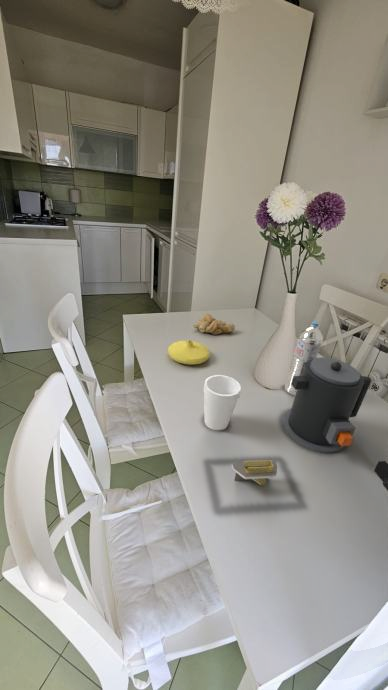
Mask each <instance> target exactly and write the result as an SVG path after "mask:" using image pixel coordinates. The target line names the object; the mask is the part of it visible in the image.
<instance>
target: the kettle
mask: <svg viewBox="0 0 388 690" xmlns="http://www.w3.org/2000/svg"><path fill="white" fill-rule="evenodd" d="M291 384H292V386H293V387H294V388H295V389H297V392H296V396H295V395H294V398H293V402H292V404H291V405H292V406H291V408H289V409H288V410H286V411H285V413H284V414H283V415H282V419H281V424H282V427H283V430H284V432H285V434H287V436H288V437H289V438H290V439H291V440H292V441H294V442H295V443H296V444H298V445H299V446H301V447H303V448H305V449H308V450H310V451H314V452H317V453H323V454H332V453H333V454H334V453H337V452H339V451H341V450H342V449H343V448H344V447H345V446H341V445H340V444H339V442H338V441H337V440H336V438H337V435H338V433H339V432H343V431H348V432H349V433H350V434H351V436H352V437H353V435H354V432H355V431H356V426H354V425H353V423H352V422H351V421H350V418H355V417H356V416H357V415H358V413H359V411H360V408H361V406H362V405H363V402H364V400H365V397H366V395H367V392H368V390H369V388H370V386H371V384H372V378H371V377H370V376H366V375H362V374H361V373H360V372H359V371H358V370H357V368H355V367H354V366H352V365H350V364H349V363H347V362H345V361H342V360H339V359H335V358H332V357H326V356H325V357H323V356H322V357H317V358H315V359H311V360H309V361H307V362H306V364H305V367H304V370H303V373H302V376H293V379H292V382H291Z"/></svg>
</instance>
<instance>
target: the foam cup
mask: <svg viewBox="0 0 388 690" xmlns="http://www.w3.org/2000/svg"><path fill="white" fill-rule="evenodd" d="M241 391H242V387H241V384H240V383H239V382H238V380H237V379H235V378H233V377H231V376H228V375H224V374H213V375H210V376H208V377H207V378H205V380H204V384H203V392H202V393H203V415H204V416H203V417H204V420H203V421H204V424H205V426H206V427H208V428H209V429H211V430H213V431H223V430H226V428H227V427H229V425H230V424H229V423H230V422H231V421H230V420H231V419H232V416H233V413H234V411H235V408H236V405H237V402H238V400H239V398H240V395H241Z"/></svg>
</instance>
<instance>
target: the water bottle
mask: <svg viewBox="0 0 388 690" xmlns="http://www.w3.org/2000/svg"><path fill="white" fill-rule="evenodd" d="M319 325H320V324H319V322H317V321H311V326H308V327H306V328H304V329H302V330H301V331H300V333H299V334H298V340H297V344H296V347H295V350H294V353H293V356H292V359H291V363H290V366H289V370H288V374H287V377H286V380H285V383H286V384H285V383H284V390H285V392H287V393H288V394H289V395H292V396H294V397H295V396H296V392H297V389H295V388H294V387H293V386H292V384H291V382H292V379H293V376H302V373H303V370H304V367H305V364H306V362H307V361H309V360H311V359H315V358H318V355H319V351H320V348H321V346H322V344H323V341H324V336H323V334H322V332H321V330H320V328H318V327H319Z"/></svg>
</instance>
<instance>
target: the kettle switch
mask: <svg viewBox="0 0 388 690" xmlns="http://www.w3.org/2000/svg"><path fill="white" fill-rule="evenodd" d="M336 440H337V441H338V442H339V444H340V445H341V446H344V447H350V446H352V443H353V441H354V437H353V435H352V436H351V434H350V433H349V432H348V431H343V432H339V433H338V435H337V438H336Z"/></svg>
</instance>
